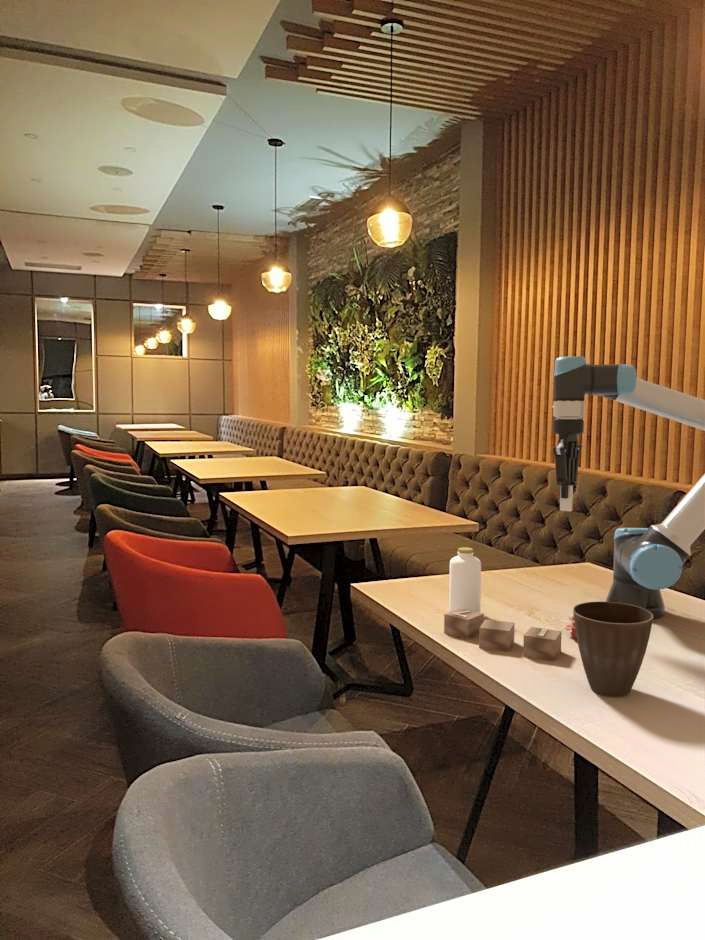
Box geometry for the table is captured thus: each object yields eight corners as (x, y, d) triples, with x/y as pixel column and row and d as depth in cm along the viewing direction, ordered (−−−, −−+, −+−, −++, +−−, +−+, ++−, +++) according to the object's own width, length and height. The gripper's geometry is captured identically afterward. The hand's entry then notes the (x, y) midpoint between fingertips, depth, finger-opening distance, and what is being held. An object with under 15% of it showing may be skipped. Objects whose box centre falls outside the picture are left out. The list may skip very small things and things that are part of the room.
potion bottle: (442, 614, 198) (443, 549, 196) (460, 608, 204) (461, 544, 202) (468, 621, 192) (469, 553, 191) (486, 614, 199) (487, 548, 197)
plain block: (514, 642, 176) (514, 622, 175) (509, 652, 169) (509, 631, 169) (484, 639, 178) (485, 619, 178) (479, 648, 172) (479, 627, 171)
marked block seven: (483, 633, 183) (483, 612, 183) (468, 639, 178) (468, 618, 177) (459, 627, 188) (460, 607, 187) (444, 633, 183) (444, 613, 182)
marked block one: (560, 652, 169) (561, 630, 169) (554, 661, 163) (555, 639, 162) (530, 647, 172) (531, 626, 172) (523, 656, 166) (523, 634, 166)
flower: (613, 628, 180) (594, 600, 183) (614, 632, 172) (594, 602, 174) (578, 648, 182) (560, 619, 185) (577, 652, 174) (558, 622, 176)
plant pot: (658, 708, 138) (661, 624, 136) (575, 702, 141) (578, 620, 139) (641, 678, 153) (644, 603, 151) (567, 674, 155) (569, 599, 154)
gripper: (564, 417, 193) (561, 506, 196) (543, 418, 183) (541, 512, 185) (592, 417, 189) (589, 509, 191) (573, 419, 179) (570, 515, 181)
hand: (566, 510), depth 188 cm, fingers closed
